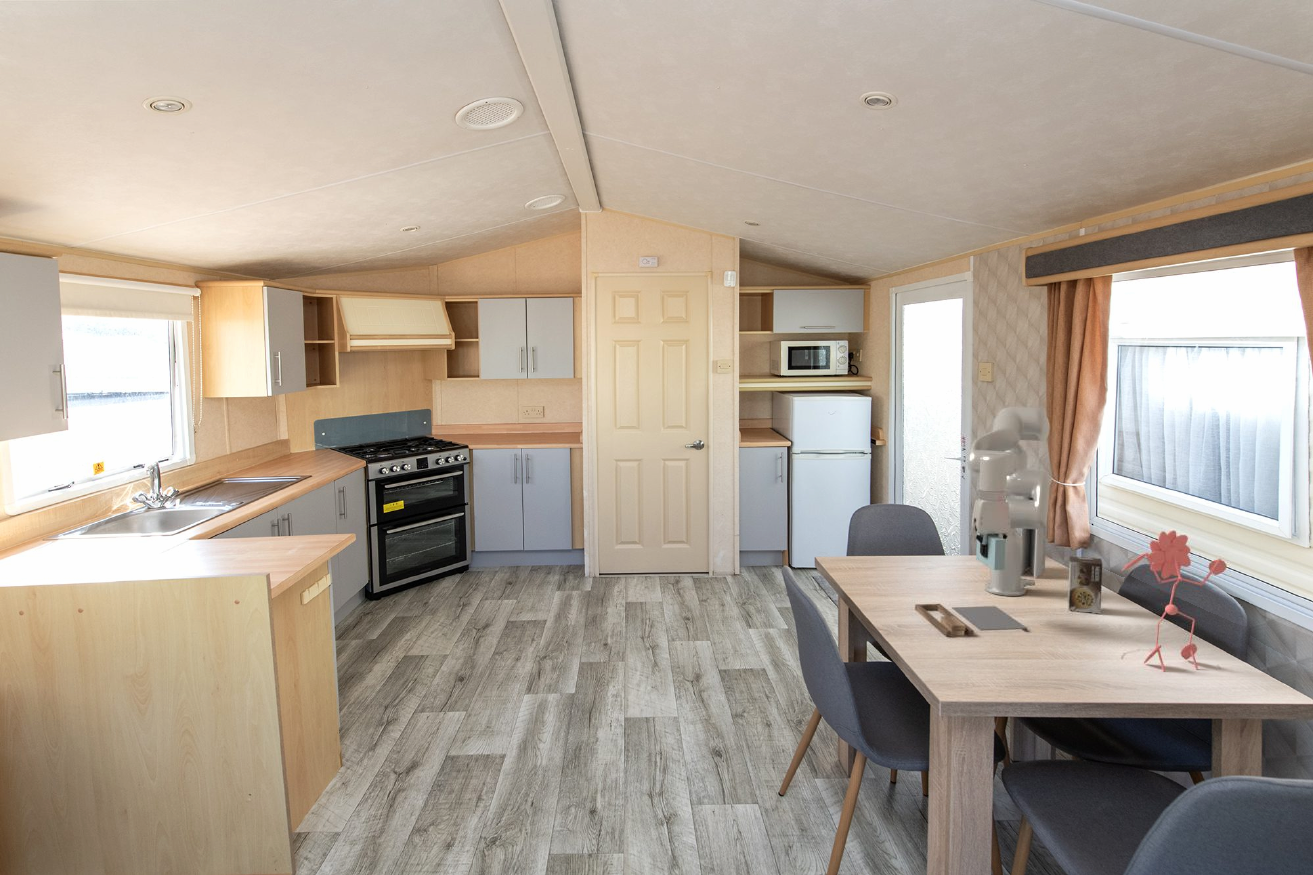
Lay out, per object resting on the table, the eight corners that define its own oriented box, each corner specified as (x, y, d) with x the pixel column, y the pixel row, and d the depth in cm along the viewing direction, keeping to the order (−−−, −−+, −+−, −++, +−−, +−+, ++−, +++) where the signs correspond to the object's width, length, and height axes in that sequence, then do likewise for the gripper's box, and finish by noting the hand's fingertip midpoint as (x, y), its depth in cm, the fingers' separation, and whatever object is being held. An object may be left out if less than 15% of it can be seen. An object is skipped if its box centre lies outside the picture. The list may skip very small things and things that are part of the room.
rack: (939, 611, 257) (939, 603, 257) (973, 638, 234) (973, 630, 233) (915, 612, 257) (915, 604, 257) (946, 639, 233) (946, 631, 233)
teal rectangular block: (985, 559, 252) (986, 530, 251) (1004, 569, 240) (1005, 539, 239) (976, 559, 252) (977, 530, 251) (994, 570, 240) (995, 539, 239)
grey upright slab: (1035, 578, 291) (1039, 495, 288) (1019, 576, 294) (1022, 493, 291) (1044, 569, 302) (1048, 489, 299) (1028, 567, 306) (1032, 487, 302)
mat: (995, 609, 259) (995, 606, 259) (1027, 631, 239) (1027, 628, 239) (951, 610, 258) (951, 607, 258) (980, 632, 238) (980, 629, 238)
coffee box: (1099, 608, 258) (1102, 558, 256) (1100, 614, 253) (1103, 563, 251) (1067, 604, 262) (1069, 555, 260) (1067, 611, 256) (1070, 560, 255)
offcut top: (953, 621, 242) (954, 616, 242) (965, 630, 234) (965, 625, 234) (940, 621, 242) (940, 616, 241) (951, 630, 234) (951, 625, 233)
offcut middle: (952, 626, 242) (952, 621, 242) (964, 635, 234) (964, 630, 234) (938, 626, 242) (939, 621, 241) (950, 636, 234) (950, 631, 233)
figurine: (1230, 668, 210) (1237, 534, 207) (1136, 674, 208) (1141, 538, 204) (1185, 648, 226) (1191, 522, 222) (1097, 653, 223) (1101, 526, 219)
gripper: (1013, 493, 248) (1010, 552, 250) (960, 494, 247) (958, 553, 249) (1025, 497, 241) (1023, 559, 243) (971, 498, 240) (968, 560, 242)
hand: (990, 555), depth 246 cm, fingers closed on teal rectangular block, 3 cm apart
